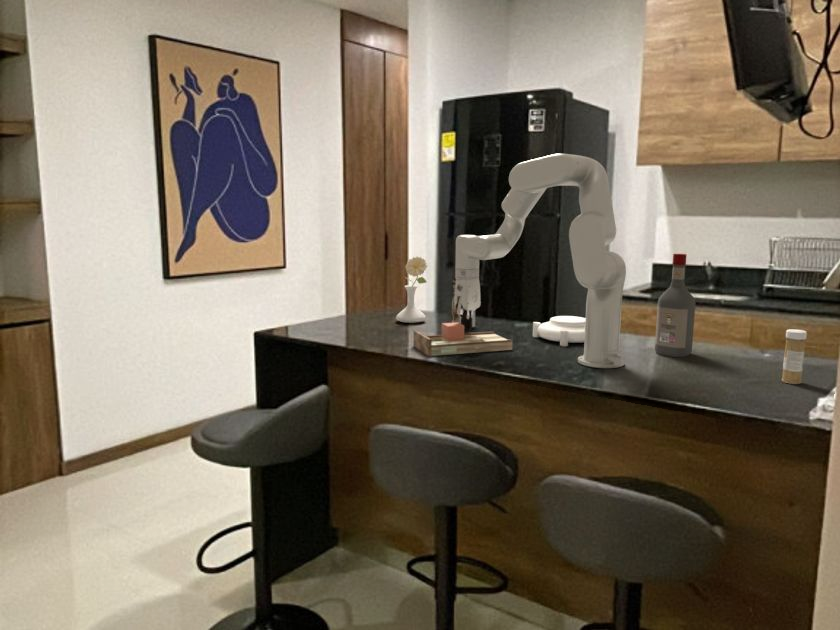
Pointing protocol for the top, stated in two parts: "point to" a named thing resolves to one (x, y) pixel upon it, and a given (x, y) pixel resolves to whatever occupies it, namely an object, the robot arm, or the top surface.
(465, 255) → the robot arm
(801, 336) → the sprinkles bottle
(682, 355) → the liquor
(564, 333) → the round stand with pegs
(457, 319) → the coffee box
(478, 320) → the top surface
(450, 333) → the block
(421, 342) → the board
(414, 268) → the flower in vase
